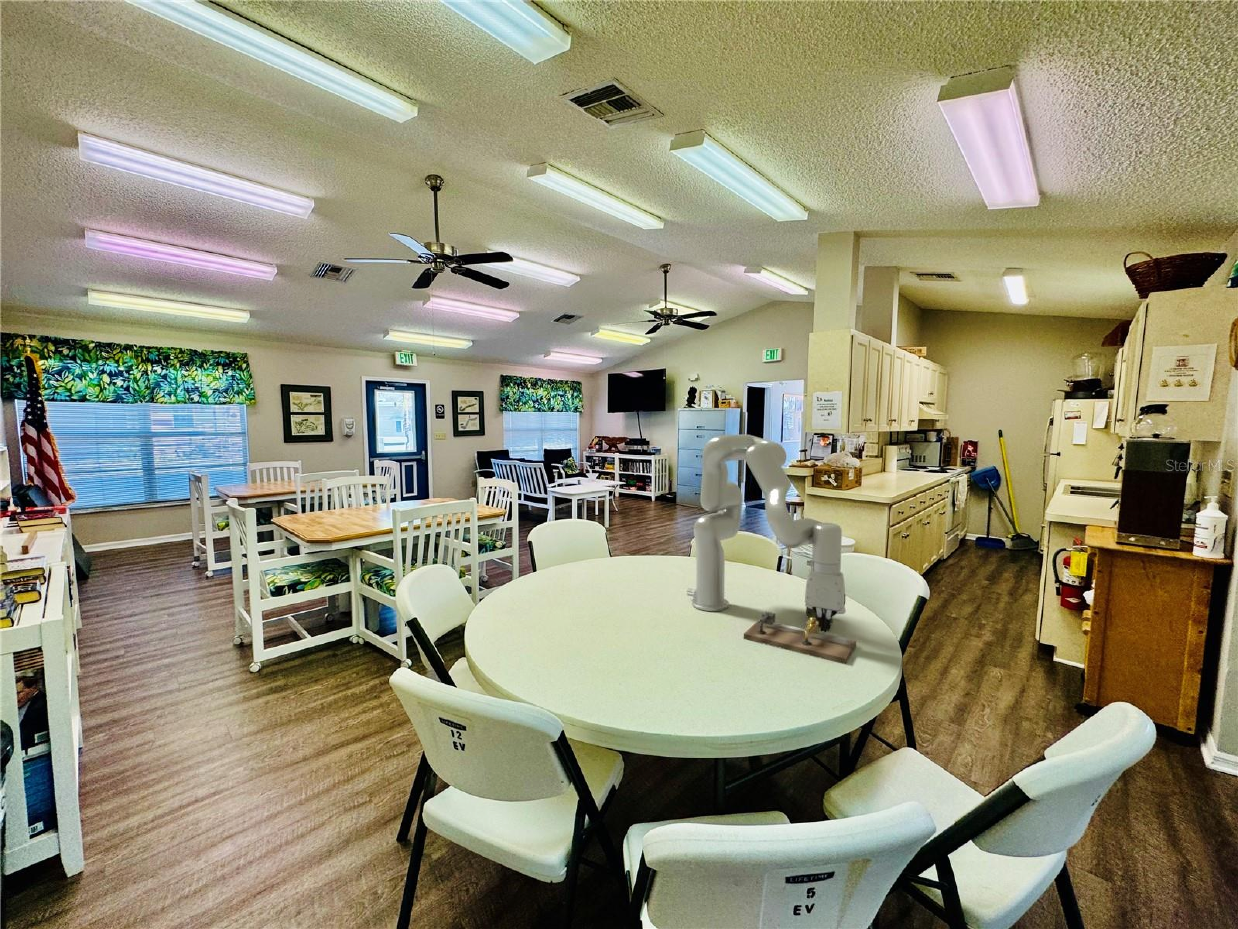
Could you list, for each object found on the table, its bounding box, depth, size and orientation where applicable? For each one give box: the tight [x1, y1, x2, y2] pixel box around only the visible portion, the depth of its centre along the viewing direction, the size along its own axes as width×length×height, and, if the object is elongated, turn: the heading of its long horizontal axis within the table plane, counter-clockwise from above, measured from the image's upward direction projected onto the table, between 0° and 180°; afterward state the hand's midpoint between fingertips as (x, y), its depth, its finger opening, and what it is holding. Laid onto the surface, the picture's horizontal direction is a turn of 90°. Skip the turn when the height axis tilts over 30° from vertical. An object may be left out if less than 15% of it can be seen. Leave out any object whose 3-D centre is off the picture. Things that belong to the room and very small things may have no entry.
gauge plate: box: [743, 610, 857, 665], centre depth 148 cm, size 28×13×5 cm, turn 54°
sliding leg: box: [804, 617, 820, 642], centre depth 146 cm, size 3×8×5 cm, turn 145°
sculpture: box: [805, 606, 834, 632], centre depth 161 cm, size 13×6×7 cm, turn 175°
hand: (824, 630), depth 146 cm, fingers closed
